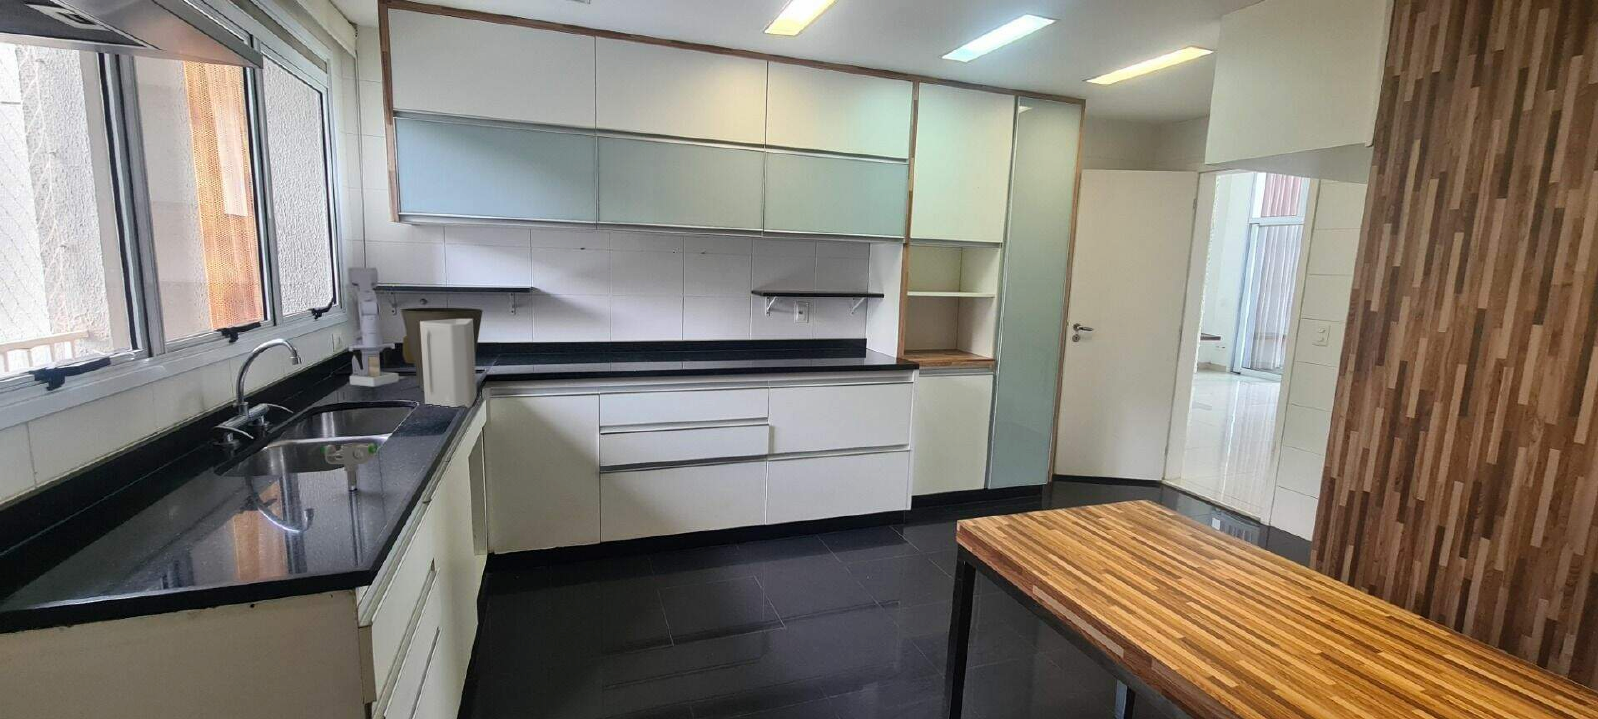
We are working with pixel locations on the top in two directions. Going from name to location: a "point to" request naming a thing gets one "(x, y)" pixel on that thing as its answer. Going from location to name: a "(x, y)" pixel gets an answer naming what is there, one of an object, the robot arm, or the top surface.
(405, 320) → the waste basket
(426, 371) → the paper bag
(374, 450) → the mechanical component
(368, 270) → the robot arm
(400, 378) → the stud plate
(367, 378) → the tray
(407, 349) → the squeeze bottle
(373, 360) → the strut
